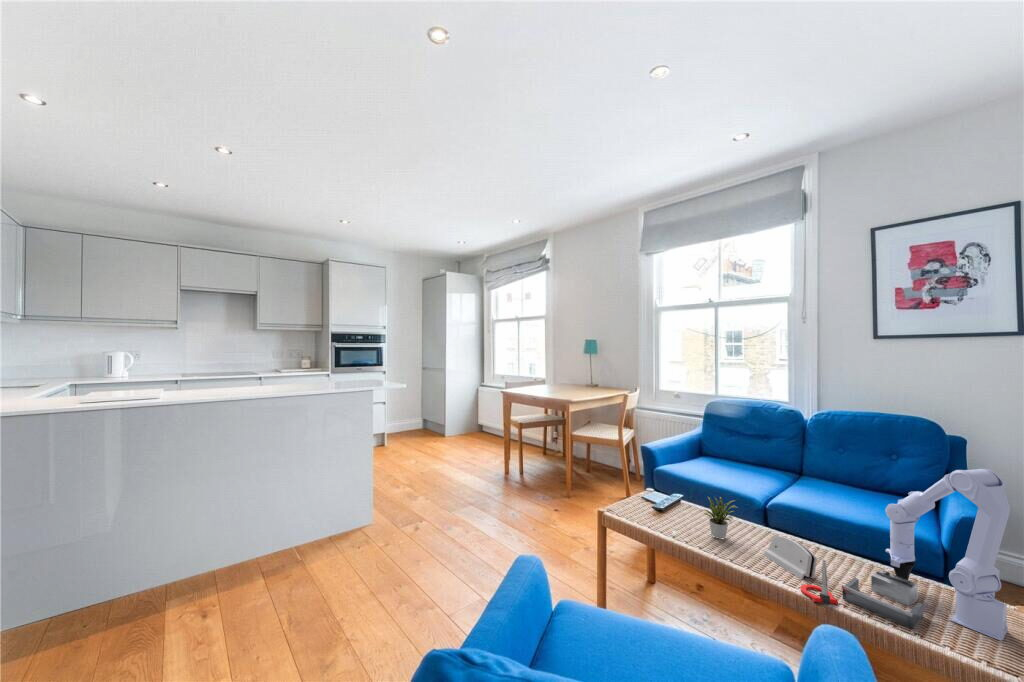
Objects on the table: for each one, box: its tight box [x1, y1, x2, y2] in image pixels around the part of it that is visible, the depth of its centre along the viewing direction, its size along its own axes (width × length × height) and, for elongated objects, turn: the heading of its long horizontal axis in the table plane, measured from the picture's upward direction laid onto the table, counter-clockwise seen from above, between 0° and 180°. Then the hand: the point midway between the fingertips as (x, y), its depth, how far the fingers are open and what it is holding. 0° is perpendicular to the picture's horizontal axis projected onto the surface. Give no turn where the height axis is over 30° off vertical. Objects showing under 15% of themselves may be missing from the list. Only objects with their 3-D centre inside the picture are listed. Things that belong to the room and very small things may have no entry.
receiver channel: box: [841, 577, 924, 630], centre depth 123 cm, size 16×11×4 cm, turn 33°
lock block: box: [870, 569, 919, 607], centre depth 129 cm, size 9×7×6 cm
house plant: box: [703, 496, 739, 539], centre depth 167 cm, size 14×14×16 cm
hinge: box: [763, 535, 818, 581], centre depth 146 cm, size 17×5×10 cm, turn 11°
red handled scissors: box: [800, 559, 839, 605], centre depth 129 cm, size 8×13×9 cm
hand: (902, 582), depth 133 cm, fingers closed
